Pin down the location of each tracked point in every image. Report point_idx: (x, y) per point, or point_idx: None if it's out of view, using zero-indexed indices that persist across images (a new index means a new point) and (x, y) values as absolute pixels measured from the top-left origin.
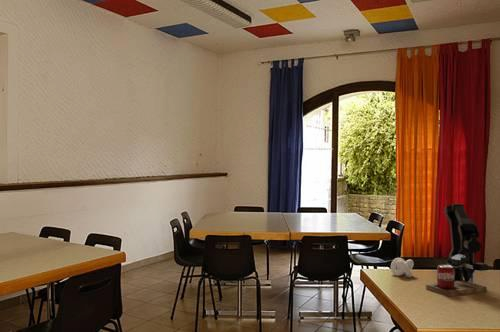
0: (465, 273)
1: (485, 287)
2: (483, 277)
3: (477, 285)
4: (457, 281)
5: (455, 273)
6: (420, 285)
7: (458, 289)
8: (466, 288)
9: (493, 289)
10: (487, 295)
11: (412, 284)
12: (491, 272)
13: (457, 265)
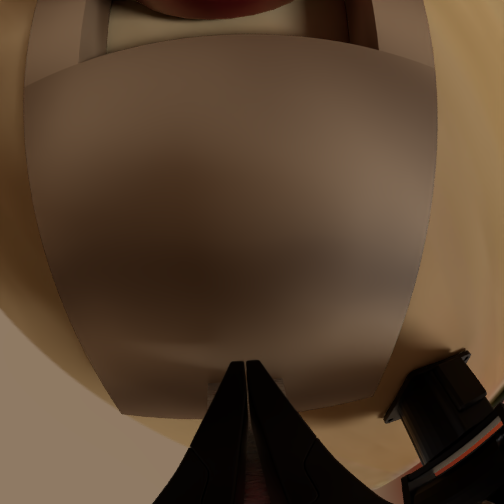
0: (271, 476)
1: (116, 401)
2: (358, 472)
3: (172, 396)
4: (386, 338)
5: (450, 410)
6: (479, 13)
7: (62, 9)
8: (55, 158)
9: (179, 437)
10: (25, 296)
11: (497, 6)
12: (368, 487)
13: (464, 467)
